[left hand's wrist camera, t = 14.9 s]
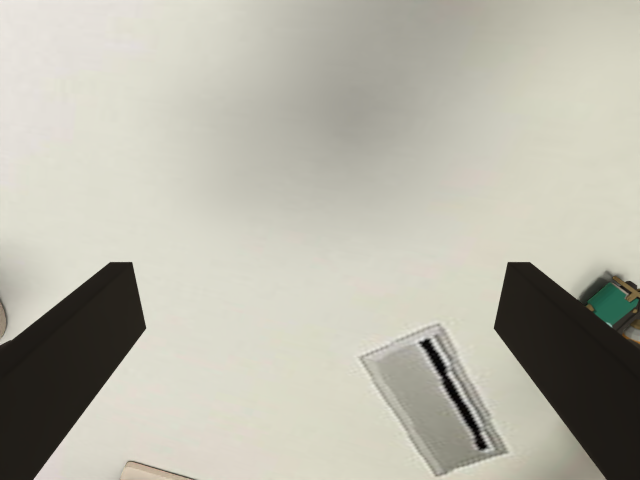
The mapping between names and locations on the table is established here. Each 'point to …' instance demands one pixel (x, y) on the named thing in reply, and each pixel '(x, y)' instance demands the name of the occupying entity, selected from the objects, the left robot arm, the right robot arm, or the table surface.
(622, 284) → the spray gun
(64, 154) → the table surface
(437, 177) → the table surface
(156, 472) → the tablet stand
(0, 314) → the bust sculpture
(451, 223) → the table surface
